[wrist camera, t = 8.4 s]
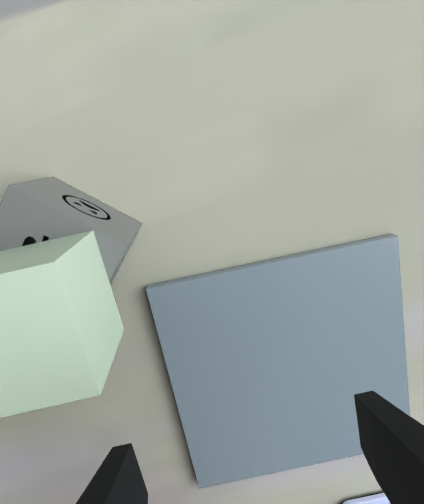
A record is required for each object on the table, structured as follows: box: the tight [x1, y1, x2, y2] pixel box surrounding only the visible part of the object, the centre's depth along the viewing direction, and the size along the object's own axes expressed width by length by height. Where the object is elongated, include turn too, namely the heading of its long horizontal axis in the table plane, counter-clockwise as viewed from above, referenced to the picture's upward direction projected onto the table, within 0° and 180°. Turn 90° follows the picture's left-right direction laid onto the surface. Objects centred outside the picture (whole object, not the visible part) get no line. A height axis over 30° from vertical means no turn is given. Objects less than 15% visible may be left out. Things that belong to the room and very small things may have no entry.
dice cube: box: [0, 177, 142, 285], centre depth 17 cm, size 5×5×5 cm
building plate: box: [146, 234, 410, 489], centre depth 22 cm, size 14×14×1 cm
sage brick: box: [0, 230, 124, 418], centre depth 13 cm, size 4×4×4 cm
